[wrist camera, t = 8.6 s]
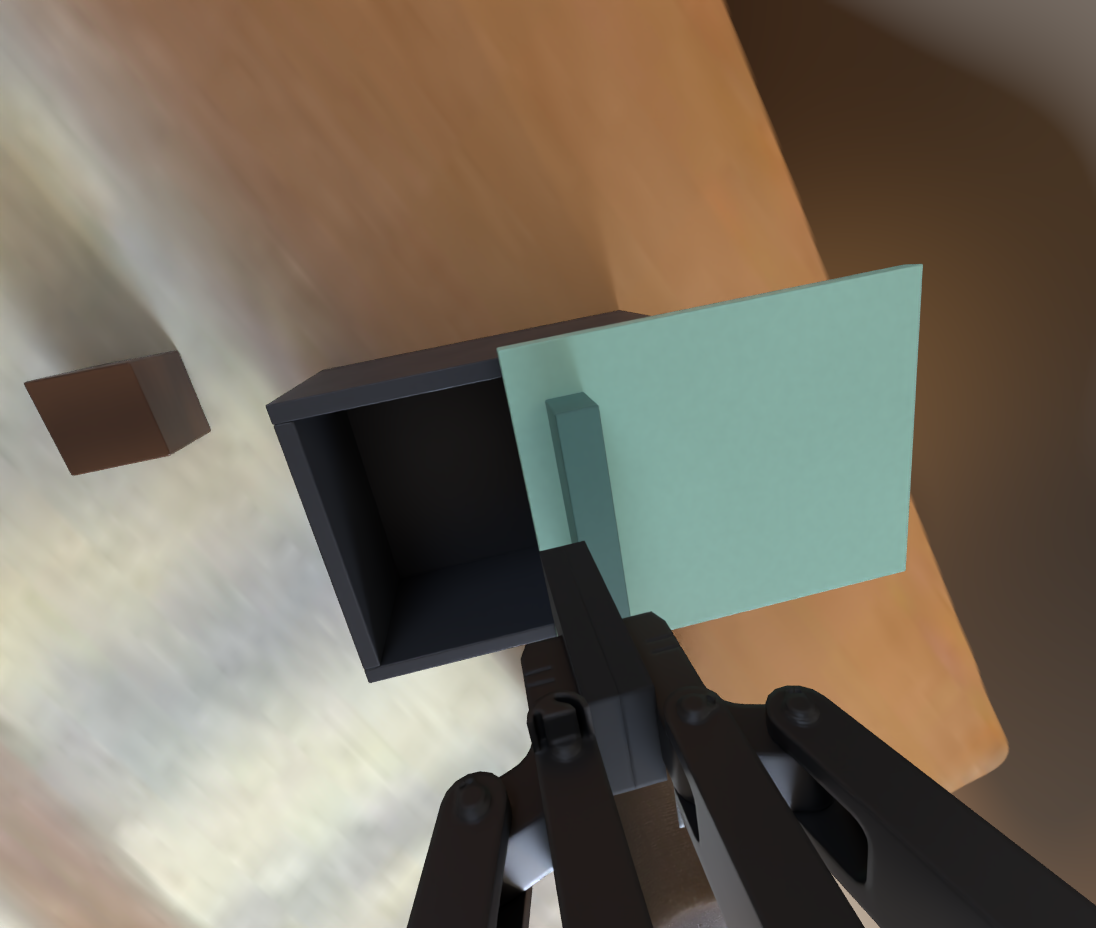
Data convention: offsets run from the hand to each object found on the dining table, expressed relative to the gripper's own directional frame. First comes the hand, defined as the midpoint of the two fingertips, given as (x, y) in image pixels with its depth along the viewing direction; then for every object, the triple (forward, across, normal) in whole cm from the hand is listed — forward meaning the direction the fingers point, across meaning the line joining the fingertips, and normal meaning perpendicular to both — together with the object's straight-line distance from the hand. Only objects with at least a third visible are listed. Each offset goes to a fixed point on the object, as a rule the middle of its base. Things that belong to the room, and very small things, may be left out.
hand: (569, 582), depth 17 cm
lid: (+6, +8, 0) cm, 10 cm away
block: (+16, -18, +7) cm, 25 cm away
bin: (+15, -1, 0) cm, 15 cm away
